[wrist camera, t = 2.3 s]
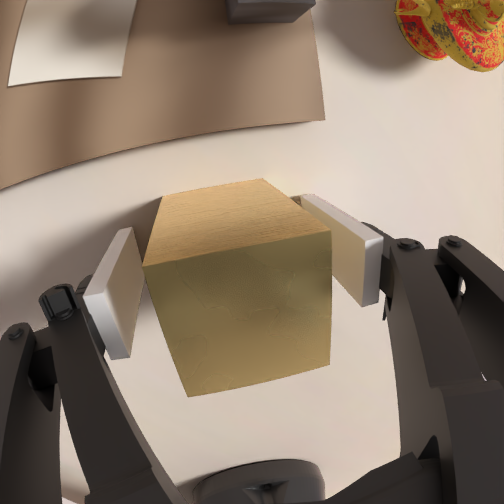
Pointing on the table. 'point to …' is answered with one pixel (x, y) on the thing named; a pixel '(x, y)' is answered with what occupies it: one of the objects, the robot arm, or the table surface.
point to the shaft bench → (146, 74)
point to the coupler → (240, 285)
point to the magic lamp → (455, 30)
